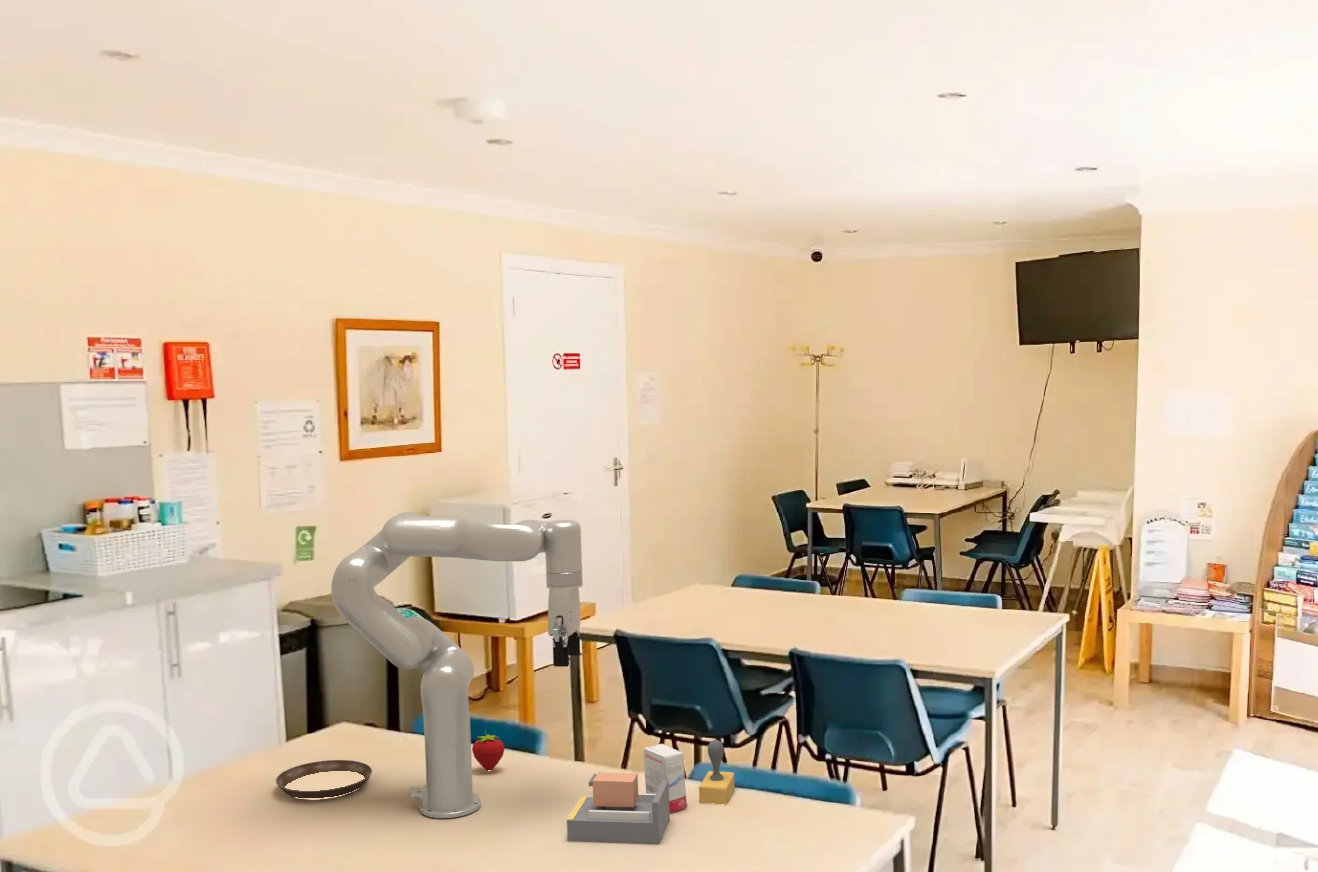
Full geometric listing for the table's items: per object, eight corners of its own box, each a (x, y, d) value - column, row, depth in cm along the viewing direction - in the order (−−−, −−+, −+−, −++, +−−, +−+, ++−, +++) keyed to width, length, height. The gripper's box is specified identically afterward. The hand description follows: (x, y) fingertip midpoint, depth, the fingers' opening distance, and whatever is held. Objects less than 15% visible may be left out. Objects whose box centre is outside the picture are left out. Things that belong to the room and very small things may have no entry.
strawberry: (501, 776, 257) (500, 733, 256) (469, 776, 257) (467, 732, 257) (508, 768, 262) (507, 725, 262) (477, 767, 263) (475, 725, 263)
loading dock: (567, 841, 218) (566, 800, 218) (582, 816, 230) (581, 777, 230) (659, 844, 215) (658, 802, 215) (669, 819, 227) (668, 780, 227)
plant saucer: (392, 781, 256) (391, 767, 256) (320, 811, 239) (320, 796, 238) (328, 768, 267) (328, 754, 267) (256, 796, 249) (255, 781, 249)
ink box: (687, 809, 233) (686, 752, 232) (667, 815, 230) (665, 757, 229) (664, 797, 240) (662, 742, 240) (644, 803, 237) (642, 747, 237)
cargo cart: (589, 813, 221) (588, 780, 221) (595, 804, 226) (594, 772, 226) (633, 815, 220) (632, 782, 219) (638, 805, 224) (637, 773, 224)
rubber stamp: (708, 787, 246) (706, 732, 245) (734, 788, 244) (733, 733, 244) (699, 803, 236) (697, 747, 236) (726, 805, 235) (724, 748, 234)
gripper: (557, 573, 246) (560, 651, 246) (535, 586, 229) (538, 670, 229) (591, 572, 244) (593, 651, 245) (571, 586, 227) (574, 671, 228)
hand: (567, 660), depth 237 cm, fingers open, 9 cm apart
